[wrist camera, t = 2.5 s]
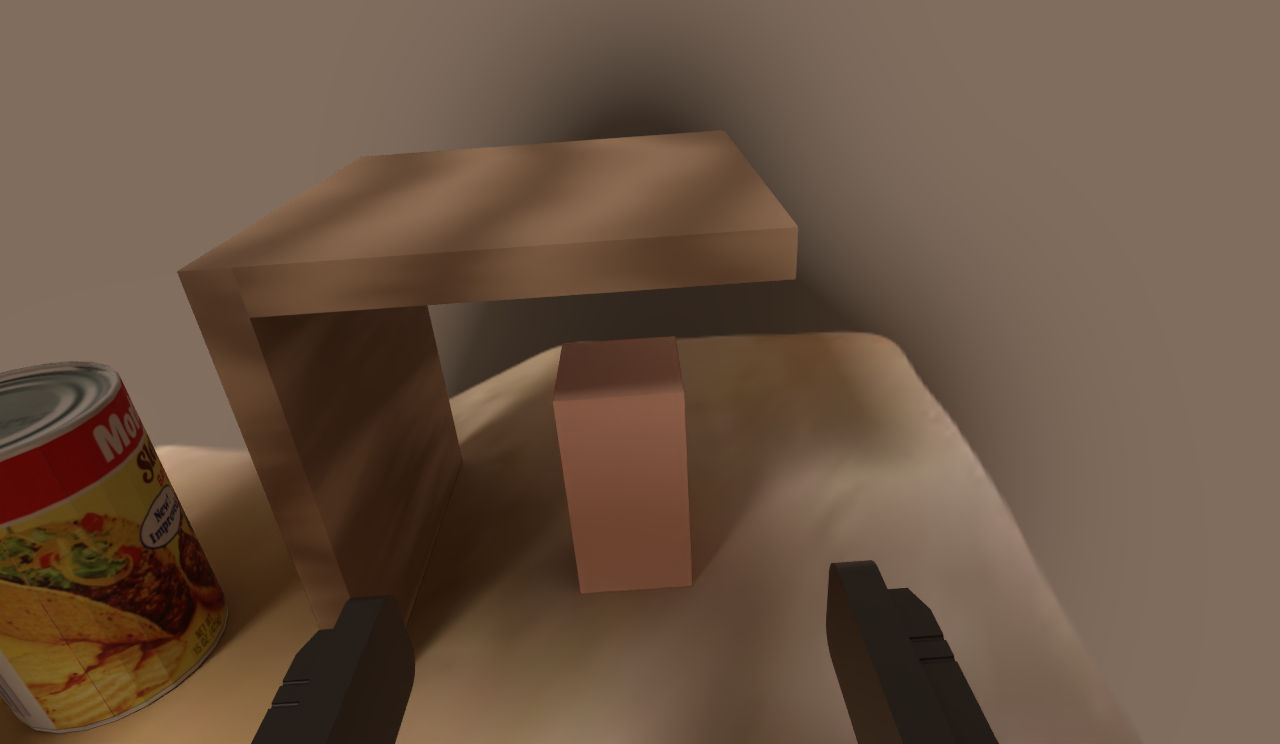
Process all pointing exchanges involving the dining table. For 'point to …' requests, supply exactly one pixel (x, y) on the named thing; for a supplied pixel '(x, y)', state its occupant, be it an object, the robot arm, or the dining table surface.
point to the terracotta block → (625, 463)
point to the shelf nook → (401, 326)
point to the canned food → (92, 555)
